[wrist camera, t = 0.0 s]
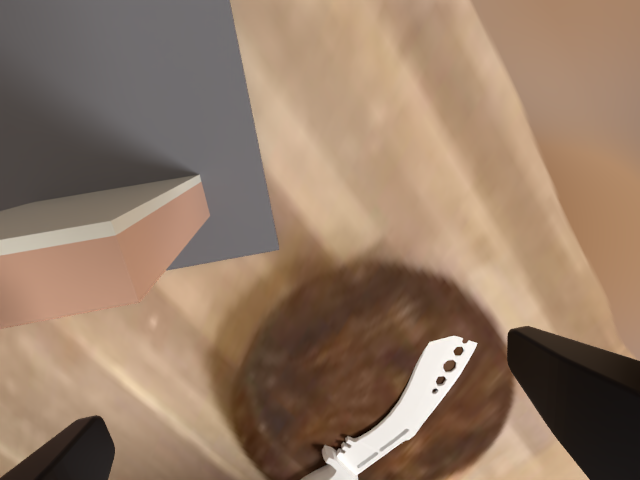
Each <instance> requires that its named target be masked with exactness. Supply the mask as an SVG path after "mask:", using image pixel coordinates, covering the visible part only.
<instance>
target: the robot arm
mask: <svg viewBox="0 0 640 480" xmlns="http://www.w3.org/2000/svg"><path fill="white" fill-rule="evenodd" d="M507 361H508V365H509V368H510V370H511V372H512V373H513V375H514V376H515V378H516V379H517V381H518V382H519V384H520V385H521V387H522V388H523V390H524V391H525V393H526V394H527V396H528V397H529V399H530V400H531V402H532V403H533V405H534V406H535V408H536V409H537V411H538V412H539V414H540V415H541V417H542V418H543V420H544V421H545V423H546V424H547V426H548V427H549V428H550V430H551V431H552V433H553V434H554V435H555V437H556V438H557V439H558V441H559V442H560V443H561V444H562V446H563V447H564V448H565V449H566V451H567V452H568V453H569V454H570V456H571V457H572V458H573V459H574V461H575V462H576V463H577V464H578V466H579V467H580V468H581V469H582V471H583V472H584V473H585V474H586V475H587V477H588V478H589V479H590V480H640V361H638V360H635V359H632V358H628V357H625V356H622V355H619V354H616V353H613V352H609V351H606V350H603V349H600V348H597V347H593V346H590V345H587V344H584V343H581V342H578V341H574V340H571V339H568V338H565V337H562V336H559V335H555V334H552V333H549V332H546V331H543V330H539V329H536V328H533V327H530V326H524V327H519V328H514V329H511V330H510V331H509V332H508V345H507ZM114 455H115V447H114V443H113V440H112V438H111V436H110V433H109V431H108V429H107V427H106V424H105V422H104V420H103V418H102V417H100V416H97V415H95V416H91V417H86V418H81V419H78V420H76V421H75V422H73V423H72V424H71V425H69V426H68V427H67V428H65V429H64V430H63V431H61V432H60V433H59V434H57V435H56V436H55V437H54V438H52V439H51V440H50V441H48V442H47V443H46V444H44V445H43V446H42V447H40V448H39V449H38V450H36V451H35V452H34V453H32V454H31V455H30V456H29V457H27V458H26V459H25V460H23V461H22V462H21V463H19V464H18V465H17V466H15V467H14V468H13V469H11V470H10V471H9V472H7V473H6V474H5V475H3V476H2V477H1V478H0V480H108V478H109V474H110V470H111V467H112V463H113V460H114Z"/></svg>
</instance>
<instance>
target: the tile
mask: <svg viewBox="0 0 640 480" xmlns="http://www.w3.org/2000/svg"><path fill="white" fill-rule="evenodd" d="M209 217H210V213H209V209H208V205H207V201H206V197H205V193H204V189H203V186H202V182H201V178H200V174H199V175H193V176H187V177H181V178H175V179H169V180H163V181H157V182H151V183H145V184H139V185H133V186H127V187H121V188H115V189H109V190H103V191H97V192H91V193H85V194H79V195H73V196H67V197H61V198H55V199H49V200H43V201H37V202H32V203H28V204H25V205H21V206H18V207H14V208H10V209H7V210H3V211H0V329H2V328H7V327H13V326H18V325H23V324H29V323H34V322H39V321H45V320H50V319H55V318H60V317H66V316H71V315H76V314H82V313H87V312H92V311H98V310H103V309H108V308H113V307H119V306H124V305H129V304H135V303H140V301H141V300H142V299H143V298H144V296H145V295H146V294H147V293H148V291H149V290H150V289H151V288H152V287H153V285H154V284H155V283H156V282H157V280H158V279H159V278H160V277H161V276H162V274H163V273H164V272H165V271H166V269H167V268H168V267H169V266H170V264H171V263H172V262H173V261H174V260H175V258H176V257H177V256H178V255H179V253H180V252H181V251H182V250H183V249H184V247H185V246H186V245H187V244H188V242H189V241H190V240H191V239H192V238H193V236H194V235H195V234H196V233H197V231H198V230H199V229H200V228H201V226H202V225H203V224H204V223H205V222H206V220H207V219H208V218H209Z"/></svg>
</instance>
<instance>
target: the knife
mask: <svg viewBox="0 0 640 480" xmlns="http://www.w3.org/2000/svg"><path fill="white" fill-rule="evenodd" d="M462 340H463V338H460V337H457V336H451V337H447V338H443V339H439V340H436V341H432V342H429V343H428V345H427V347H426V348H425V350H424V351H423V353H422V355H421V357H420V358H419V360H418V362H417V364H416V366H415V368H414V370H413V373H412V375H411V378H410V380H409V382H408V385H407V387H406V388H405V390H404V392H403V394H402V396H401V398H400V400H399V401H398V402H397V404H396V405H395V406H394V408H393V409H392V410H391V412H390V413H389V414H388V415H387V416H386V417H385V418H384V419H383V420H382V421H381V422H380V423H379V424H378V425H377V426H375V427H374V428H373V429H371V430H370V431H368V432H367V433H365V434H363V435H361V436H359V437H357V438H351V437H349V436H347V437H346V439H345V440H346V443H344V442H343V443H342V444H341V447H342V449H343V450H342V449H340V448H339V449H338V450H337V451H336V450H335V449H333V448H332V447H329V446H326V445H324V447H323V449H322V455H323V458H324V460H325V462H326V463H327V464H328V465H325V466H323V467H321V468H319V469H317V470H315V471H313V472H312V473H310V474H308V475H306V476H305V477H303V478H302V479H301V480H358V474H359V473H360V472H362V471H363V470H365V469H366V468H367V467H369V466H370V465H371V464H373V463H374V462H376V461H377V460H378V459H380V458H381V457H383V456H384V455H385V454H387V453H388V452H389V451H391V450H392V449H394V448H395V447H396V446H398V445H399V444H400V443H402V442H403V441H405V440H409V439H410V438H412V437H413V436H414V435H415V434H416V433H417V431H418V430H419V428H420V427H421V426H422V424H423V423H424V422H425V421H426V419H427V418H428V417H429V415H430V414H431V413H432V412H433V410H434V409H435V408H436V406H437V405H438V404H439V403H440V401H441V400H442V399H443V397H444V396H445V395H446V394H447V392H448V391H449V389H450V388H451V387H452V385H453V384H454V383H455V381H456V380H457V378H458V377H459V375H460V374H461V372H462V371H463V369H464V367H465V366H466V364H467V362H468V361H469V359H470V357H471V355H472V353H473V352H474V350H475V348H476V345H477V343H475V342H472V341H470V340H469V341H468V342H467V343H465V344H463V343H462ZM456 347H462V348H463V352H462V354H461V355H455V354H454V352H453V351H454V350H455V348H456ZM447 360H454V361H455V362H456V365H455V368H454V369H453V370H451V371H444V369H443V364H444V363H445V362H446V361H447ZM439 376H444V377H445V378H446V379H445V381H444V382H443V384H436V380H437V378H438V377H439ZM433 389H435V390H436V392H432V390H433ZM347 443H348V444H347Z"/></svg>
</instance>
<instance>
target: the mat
mask: <svg viewBox="0 0 640 480" xmlns="http://www.w3.org/2000/svg"><path fill="white" fill-rule="evenodd" d="M199 174H200V178H201V182H202V186H203V189H204V193H205V197H206V201H207V205H208V209H209V213H210V217H209V218H208V219H207V220H206V222H205V223H204V224H203V225H202V226H201V228H200V229H199V230H198V231H197V233H196V234H195V235H194V236H193V238H192V239H191V240H190V241H189V242H188V244H187V245H186V246H185V247H184V249H183V250H182V251H181V252H180V253H179V255H178V256H177V257H176V258H175V260H174V261H173V262H172V263H171V264H170V266H169V267H168V268H167V269H166V270H172V269H177V268H183V267H188V266H194V265H199V264H204V263H210V262H215V261H221V260H226V259H232V258H237V257H243V256H248V255H253V254H259V253H264V252H270V251H275V250H279V245H278V240H277V235H276V230H275V225H274V220H273V215H272V210H271V205H270V200H269V195H268V190H267V185H266V180H265V175H264V170H263V165H262V160H261V155H260V150H259V145H258V140H257V135H256V130H255V125H254V120H253V115H252V110H251V105H250V100H249V95H248V90H247V85H246V80H245V75H244V70H243V65H242V60H241V55H240V50H239V45H238V40H237V35H236V30H235V25H234V20H233V15H232V10H231V5H230V0H0V211H3V210H7V209H10V208H14V207H18V206H21V205H25V204H28V203H32V202H37V201H43V200H49V199H55V198H61V197H67V196H73V195H79V194H85V193H91V192H97V191H103V190H109V189H115V188H121V187H127V186H133V185H139V184H145V183H151V182H157V181H163V180H169V179H175V178H181V177H187V176H193V175H199Z"/></svg>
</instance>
